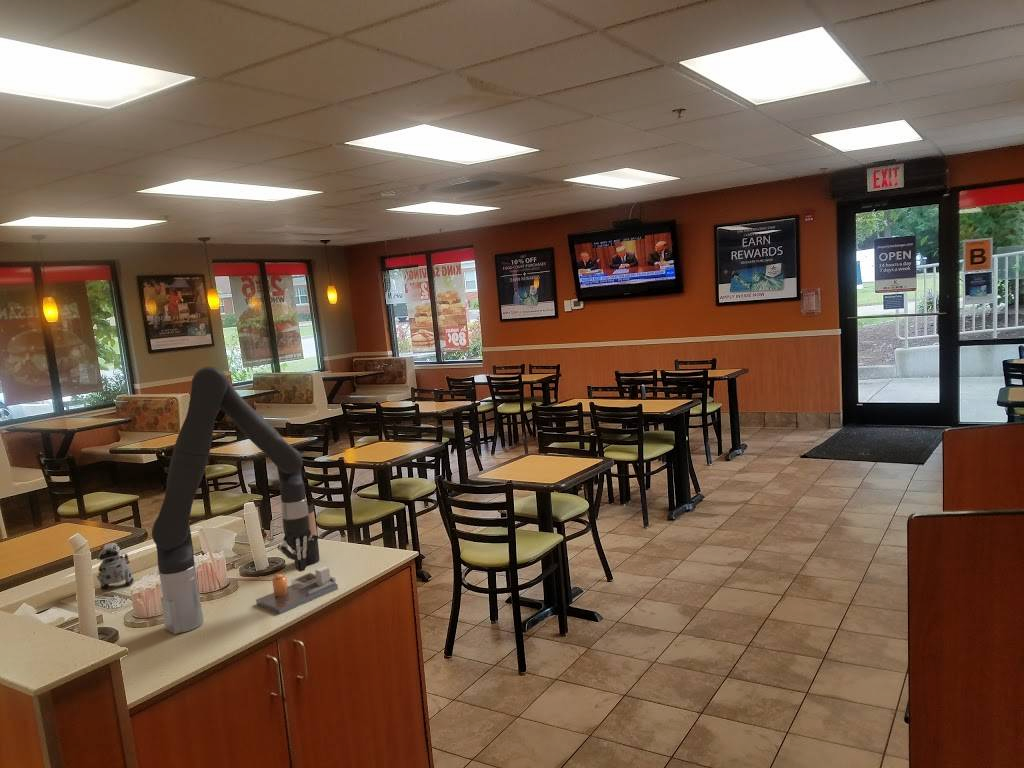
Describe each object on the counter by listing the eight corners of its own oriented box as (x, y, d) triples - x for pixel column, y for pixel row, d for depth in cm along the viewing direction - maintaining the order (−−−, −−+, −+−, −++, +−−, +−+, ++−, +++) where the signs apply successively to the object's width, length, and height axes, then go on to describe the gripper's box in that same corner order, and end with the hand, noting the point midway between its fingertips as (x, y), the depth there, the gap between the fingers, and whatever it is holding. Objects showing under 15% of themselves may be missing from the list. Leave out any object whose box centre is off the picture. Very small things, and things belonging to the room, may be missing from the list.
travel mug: (323, 557, 252) (316, 501, 249) (315, 565, 244) (308, 508, 241) (302, 558, 252) (295, 503, 250) (294, 566, 245) (286, 509, 242)
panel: (279, 614, 207) (278, 603, 206) (256, 604, 216) (255, 593, 215) (338, 588, 222) (336, 578, 221) (314, 580, 230) (312, 570, 230)
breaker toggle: (322, 587, 220) (320, 571, 219) (317, 585, 222) (315, 569, 221) (331, 583, 222) (328, 567, 221) (325, 581, 224) (323, 566, 223)
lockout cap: (278, 597, 215) (276, 579, 214) (271, 594, 218) (269, 576, 217) (290, 592, 218) (288, 574, 217) (283, 590, 221) (281, 572, 220)
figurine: (94, 597, 234) (86, 553, 232) (107, 584, 245) (100, 541, 243) (124, 592, 235) (117, 548, 233) (136, 579, 247) (129, 537, 245)
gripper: (282, 522, 207) (288, 580, 209) (321, 510, 216) (327, 565, 218) (268, 518, 212) (274, 575, 214) (307, 507, 221) (313, 561, 223)
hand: (301, 570), depth 216 cm, fingers closed
